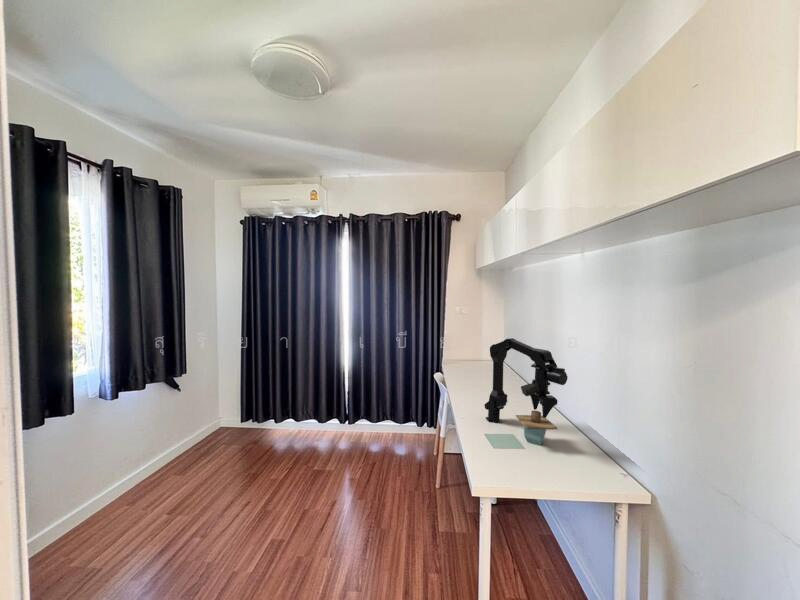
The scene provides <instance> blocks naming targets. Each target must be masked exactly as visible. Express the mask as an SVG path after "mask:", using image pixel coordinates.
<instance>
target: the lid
mask: <svg viewBox="0 0 800 600" xmlns="http://www.w3.org/2000/svg"><path fill="white" fill-rule="evenodd" d="M515 418H516V419H517V420H518V421H519V422H520V423H521V424H522V425H523V427H524V426H525V427H526V428H527V429H546V430H558V427H557V426H556V425H555V424H554V423H553V422H552V421H550V419H548V418H547V417H546V418H543V415H542V412H541V411H539V410H531V414H529V415H528V414H527V415H526V414H516V415H515Z"/></svg>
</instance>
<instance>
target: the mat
mask: <svg viewBox="0 0 800 600" xmlns="http://www.w3.org/2000/svg"><path fill="white" fill-rule="evenodd" d="M483 435H484V437H485V438H486V440H487V441H488V443H489V444H490V446H491V447H492V449H495V450H497V449H500V450H508V449H509V450H513V449H514V450H526V447H525V446H524V445H523V444H522V442H521V441H520V440H519V438H517V436H515V434H514V433H483Z"/></svg>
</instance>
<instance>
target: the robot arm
mask: <svg viewBox="0 0 800 600" xmlns="http://www.w3.org/2000/svg"><path fill="white" fill-rule="evenodd" d="M510 350H514V351H516V352H518V353H521V354H522V355H525V356H527V357H528V358H529V359H530V360H531V361H532V362H534V363H532V364H531V365H530V367H531V368H534V379H532V381H531V383H527V384H524V385H521V386H520V390H521V392H522V395H524V396H525V397H530V400H531V402H532V407H533V411H537V409H538V406H539V404H540V405H541V409H542V412H541V413H542V416H543V418H547V417H548V415H549V413H550V412H551V410H552V409H553V408H554V407H555V406H558V399H557V398H556V397H555V396H553V395H551V392H550V391H549V386H551V383H553V384H556V385H561V386H565V384H566V383H567V381H568V374H567V372H566V369H565V368H563V367H558V365H557V363H556V361H555V360H554V358H553V355H552V352H551V351H550V350H547V349H542V348H535V347H532V346H530V345H528V344H526V343H523V342H521V341H519V340H517V339H515V338H512V337H511V338H505V339H504V340H502V341H500V342H497V343H495V344H491V346H490V347H489V355H490V357H491V360H492V362H493V363H492V390H491V392H490V394H489V399H488V401H487V402H486V403H484V405H483V406H484V408H485V410H487V416H486V417H485V419H486V421H487V422H488V423H493V424H494V423H497V424H498V423H501V424H502V420H501V419H500V414H501V410H503V409H504V408H505V406H507V403H508V394H507V393H505V391H504V361H505V360H506V358H507V356H508V355H507V354H508V352H509V351H510Z"/></svg>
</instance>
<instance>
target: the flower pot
mask: <svg viewBox="0 0 800 600" xmlns="http://www.w3.org/2000/svg"><path fill="white" fill-rule="evenodd" d="M546 432H547V429H527V428H526V427H525V426H524V425H523V433H524V434H523V435H524V438H525V440H526V442H527V443H530V444H534V445H536V446H540V445H541V444H542V443H543V440H544V439H545V437H546Z"/></svg>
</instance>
